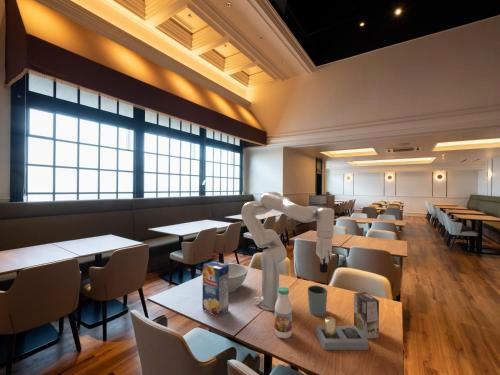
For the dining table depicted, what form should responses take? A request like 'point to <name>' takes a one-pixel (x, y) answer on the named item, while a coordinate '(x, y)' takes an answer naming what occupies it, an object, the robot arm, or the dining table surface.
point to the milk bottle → (283, 314)
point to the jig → (343, 339)
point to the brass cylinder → (330, 328)
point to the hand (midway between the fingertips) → (323, 271)
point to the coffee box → (366, 315)
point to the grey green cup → (317, 300)
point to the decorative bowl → (236, 276)
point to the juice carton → (215, 287)
